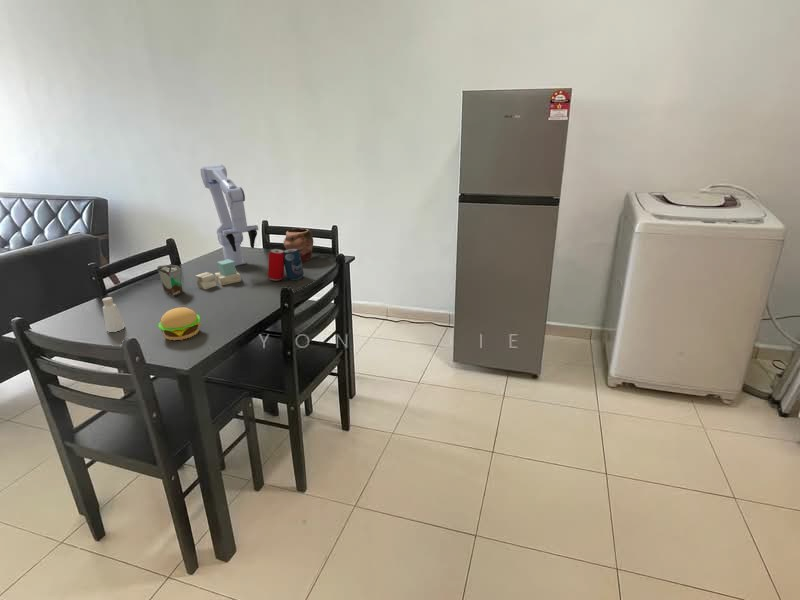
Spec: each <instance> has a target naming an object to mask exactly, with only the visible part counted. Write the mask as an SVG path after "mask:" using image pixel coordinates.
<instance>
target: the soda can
mask: <svg viewBox="0 0 800 600" xmlns="http://www.w3.org/2000/svg"><path fill="white" fill-rule="evenodd" d="M283 251H284V270H285V274H286V277H287V278H288V279H289V280H291V281H295V280H300V279H302V278H303V276H304V269H303V262H301V257H300V252H299V251H298V249H297V248H289V249H286V248H285V249H284V250H283Z"/></svg>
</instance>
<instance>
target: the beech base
mask: <svg viewBox="0 0 800 600" xmlns="http://www.w3.org/2000/svg"><path fill="white" fill-rule="evenodd" d="M214 277H215V281H216V282H217V283H218V284H219V285H220V286H224V285H229V284H234V283H238V282H239V283H240V282H242V279H241V274H240V273H239V272H238V271H237V270H236V273H235V274H231V275H227V276H223V275H221V274H220V273H219V271H218V272H214Z"/></svg>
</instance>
